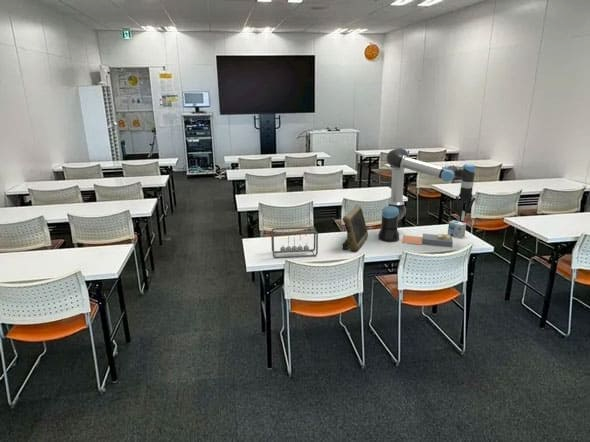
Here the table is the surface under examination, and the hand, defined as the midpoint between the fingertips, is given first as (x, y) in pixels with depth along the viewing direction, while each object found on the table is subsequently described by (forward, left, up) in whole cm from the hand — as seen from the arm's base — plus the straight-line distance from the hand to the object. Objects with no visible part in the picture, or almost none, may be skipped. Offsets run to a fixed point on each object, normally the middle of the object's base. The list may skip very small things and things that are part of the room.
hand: (462, 220), depth 277 cm
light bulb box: (-1, +19, -19) cm, 27 cm away
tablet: (-71, -18, -19) cm, 76 cm away
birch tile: (-11, 0, -14) cm, 18 cm away
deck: (-15, 0, -18) cm, 24 cm away
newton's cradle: (-107, -50, -19) cm, 119 cm away
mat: (-32, 0, -18) cm, 37 cm away
